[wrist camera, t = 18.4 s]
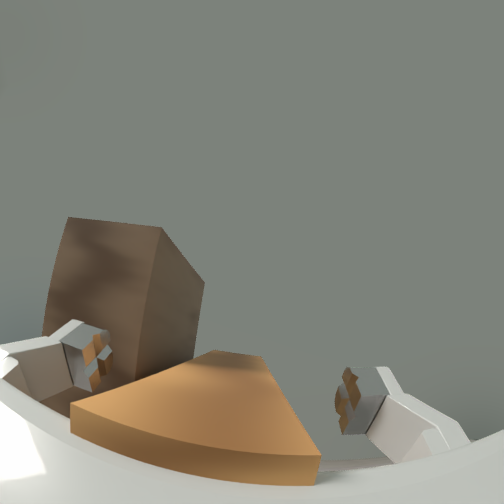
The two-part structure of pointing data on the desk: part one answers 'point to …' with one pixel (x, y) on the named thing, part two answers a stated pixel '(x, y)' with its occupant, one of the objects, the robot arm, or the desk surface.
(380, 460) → the desk surface
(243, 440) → the brown block
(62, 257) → the stepped stand
